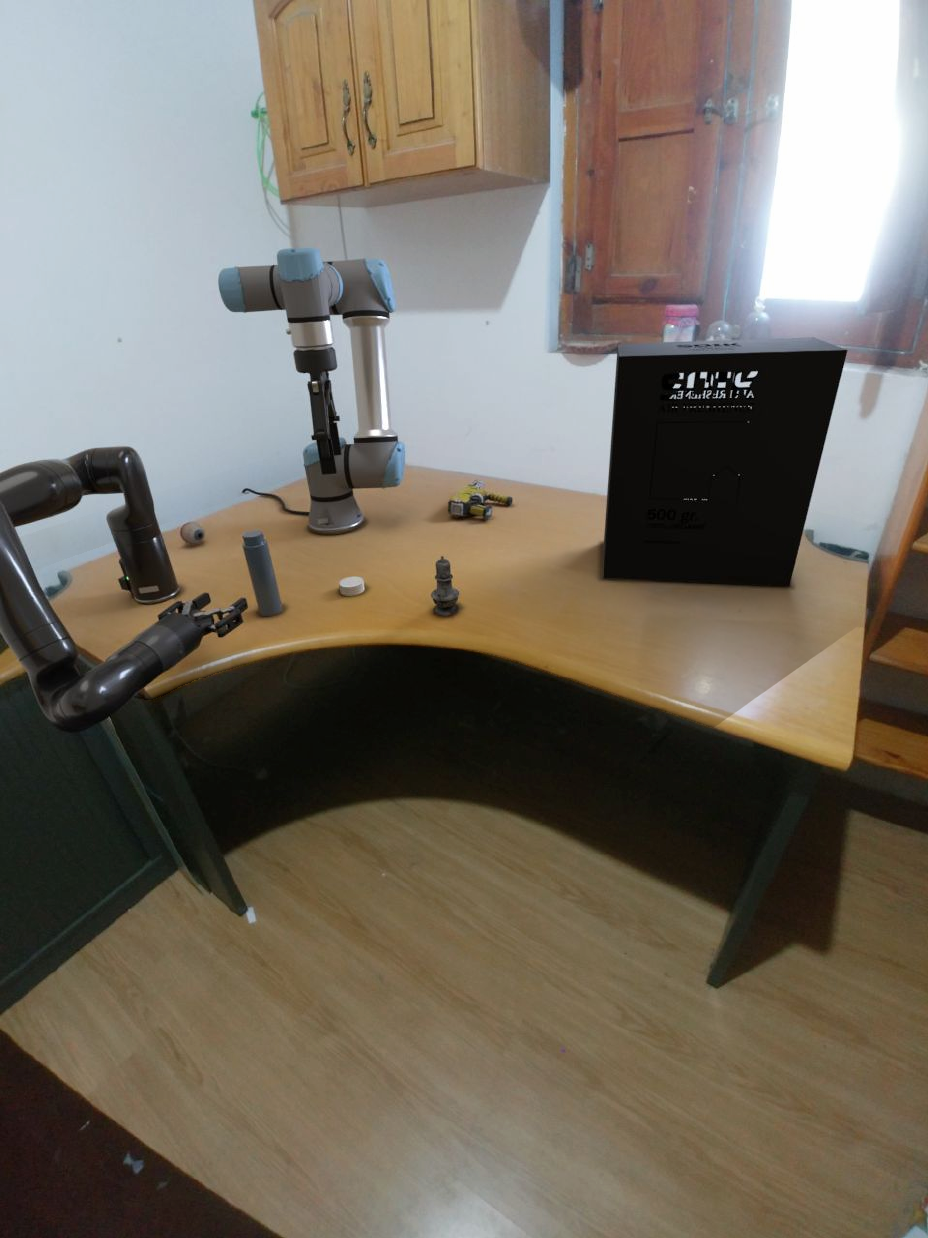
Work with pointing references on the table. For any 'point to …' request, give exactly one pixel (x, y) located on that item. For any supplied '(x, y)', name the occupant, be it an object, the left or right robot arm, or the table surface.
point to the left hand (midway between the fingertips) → (226, 599)
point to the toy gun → (475, 501)
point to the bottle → (261, 573)
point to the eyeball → (192, 533)
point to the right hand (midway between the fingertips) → (332, 464)
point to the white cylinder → (351, 586)
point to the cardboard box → (716, 458)
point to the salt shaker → (444, 590)
